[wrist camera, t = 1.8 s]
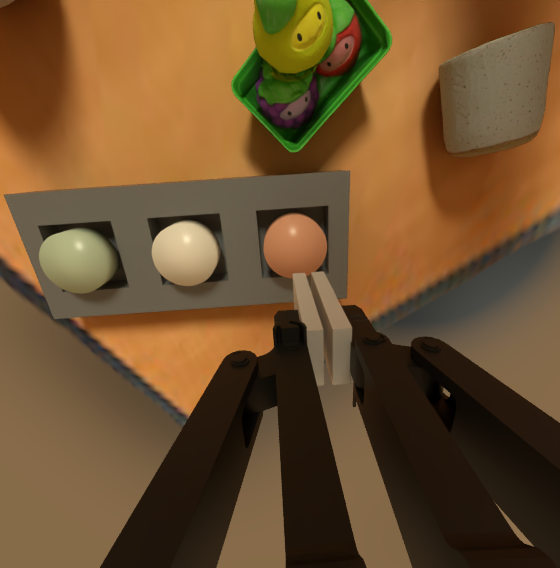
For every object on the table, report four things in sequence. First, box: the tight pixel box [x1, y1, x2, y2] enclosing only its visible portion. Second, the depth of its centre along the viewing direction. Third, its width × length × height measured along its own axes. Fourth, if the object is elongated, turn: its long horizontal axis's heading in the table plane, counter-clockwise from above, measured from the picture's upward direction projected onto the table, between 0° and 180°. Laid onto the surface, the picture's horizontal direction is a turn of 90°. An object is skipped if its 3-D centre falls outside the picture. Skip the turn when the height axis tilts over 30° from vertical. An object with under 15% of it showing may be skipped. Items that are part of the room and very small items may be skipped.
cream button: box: [152, 220, 221, 286], centre depth 28 cm, size 6×6×2 cm
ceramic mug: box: [439, 22, 555, 157], centre depth 25 cm, size 11×8×8 cm
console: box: [4, 170, 350, 319], centre depth 31 cm, size 13×32×4 cm, turn 94°
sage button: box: [39, 227, 119, 294], centre depth 28 cm, size 6×6×2 cm
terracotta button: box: [264, 213, 327, 278], centre depth 28 cm, size 6×6×2 cm
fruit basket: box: [231, 0, 392, 153], centre depth 22 cm, size 11×9×11 cm
